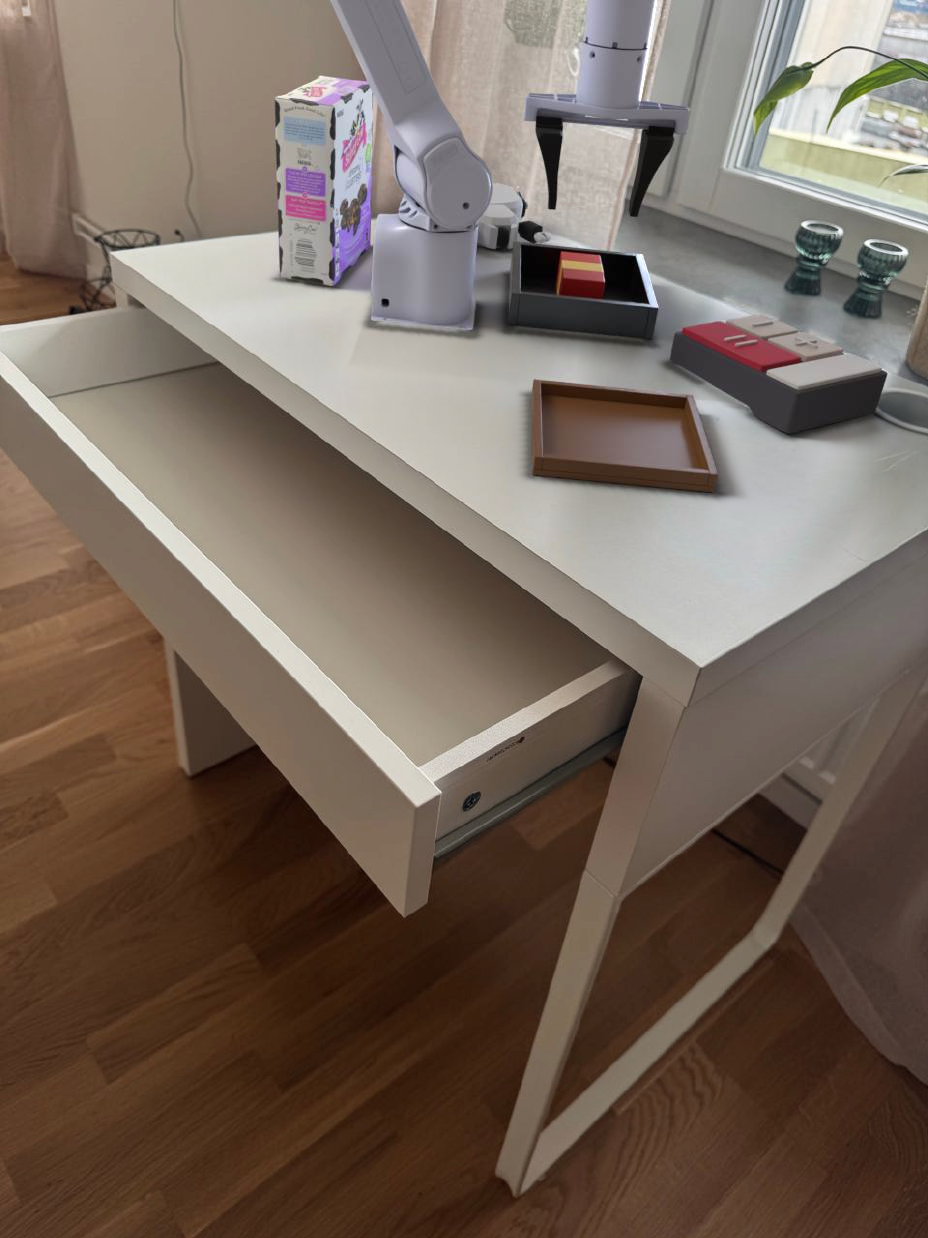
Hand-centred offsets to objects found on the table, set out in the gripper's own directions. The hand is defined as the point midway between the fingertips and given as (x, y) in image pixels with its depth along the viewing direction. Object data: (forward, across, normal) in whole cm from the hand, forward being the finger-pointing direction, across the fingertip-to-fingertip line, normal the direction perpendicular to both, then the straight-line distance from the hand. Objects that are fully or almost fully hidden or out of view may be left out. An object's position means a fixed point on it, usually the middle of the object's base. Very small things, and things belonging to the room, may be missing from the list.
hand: (592, 210), depth 91 cm
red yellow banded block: (+9, 0, 0) cm, 9 cm away
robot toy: (+10, +11, -20) cm, 24 cm away
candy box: (+9, +26, -6) cm, 29 cm away
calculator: (+10, -16, +15) cm, 24 cm away
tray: (+9, -2, +28) cm, 30 cm away
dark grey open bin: (+10, 0, 0) cm, 10 cm away
